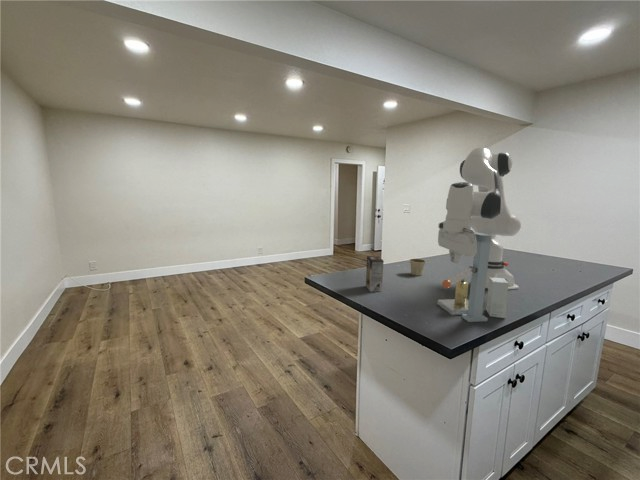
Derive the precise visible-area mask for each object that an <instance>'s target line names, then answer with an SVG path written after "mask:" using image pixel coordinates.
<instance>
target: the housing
mask: <svg viewBox="0 0 640 480" xmlns="http://www.w3.org/2000/svg"><path fill="white" fill-rule="evenodd" d="M468 290H469V281H466V280H465V278H464V279H462V280H460V281H459V282H457V283H455V294H454V299H455V302H454V304H455V305H457V306H462V307H463V306H466V301H467V299H468V293H469V292H468Z"/></svg>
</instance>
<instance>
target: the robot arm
mask: <svg viewBox="0 0 640 480" xmlns="http://www.w3.org/2000/svg"><path fill="white" fill-rule="evenodd" d="M512 167H513V160H512V157H511V154H509V153H508V152H498V153H492V151H490V150H489V149H488V148H486V147H476V148H473V149H472V150H471V151H470V152H469V154H468V155H467V157H466V158H465V159H464V160H462V161H461V162H460V165H459V174H460V177H461V178H462V179H463V180H464V181H465V182H454V183H451V184H450V187H449V190H448V193H447V198H446V204H445V206H446V207H445V209H446V211H447V213H446V215H445V220H444V221H442V222H439V223H438V229H439V230H438V234H437V237H438V238H437V243H438V246H440V248H444V249H446V250H448V253H449V257H450V262H451V263H453V264H459V263H460V258H461V257H462V256H464V257H474V256H475V255H476V252H477V239H476V236H475V234H474V232H478V233H482V234H487V235H491V243H490V251H489V259H488V268H487V276H486V284H485V289H487V290H488V285H489V277H494V278H504V279H505V280H506V281H507V282H508V283H509V284H508V291H509V290H519V289H520V287H519V285H518V284H516V283H515V277H514V275H513V274H511V273H510V271H508V270H507V269H506V268H505V267H508V266H510V264H509V262H506V261H503V253H504V246H503V244H502V243H501V242H500V241H499V240H498V239H497V236H499V237H510V236H511V237H513V236H516V235H517V234H519V232H520V231H521V227H522V225H521V224H522V223H521V220H520V219H519V218H518V217H517V216H515V214H513V212H512V211H511V210H510V208H509V207H508V205H507V202H506V199H505V190H504V189H505V188H504V181H503V177H504V176H507V175H508V174H509V173H510V172H511V171H512ZM474 186H478V187H477V188H478V191H474ZM473 231H474V232H473Z"/></svg>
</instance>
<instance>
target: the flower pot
mask: <svg viewBox="0 0 640 480" xmlns="http://www.w3.org/2000/svg"><path fill="white" fill-rule="evenodd" d="M426 262H427V261H426V260H425V259H421V258H410V259H409V264H410V274H411V275H412V276H416V277H417V276H422V275H423V271H424V267H425V264H426Z"/></svg>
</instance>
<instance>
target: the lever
mask: <svg viewBox="0 0 640 480" xmlns="http://www.w3.org/2000/svg"><path fill="white" fill-rule="evenodd" d="M476 272H477V269H476V268H474V267H473V265H469V266H468V267H466V268H465V269H463V270H462V271H459V272H457V274H455V275H453V276H451V277H449V278H447V279H445V280H443V281H442V282H441V285H442V287H443V288H444V289H449V288H450V287H451V286H453V285H456V283H457V282H459V281H461V280H462V279H464V280H465V279H466V278H467V277H470V275H471V276H472V274H473V273H476Z"/></svg>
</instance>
